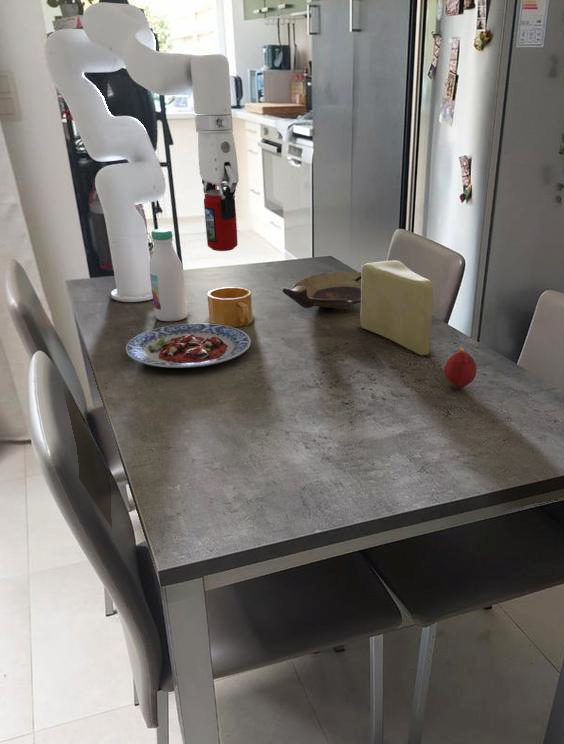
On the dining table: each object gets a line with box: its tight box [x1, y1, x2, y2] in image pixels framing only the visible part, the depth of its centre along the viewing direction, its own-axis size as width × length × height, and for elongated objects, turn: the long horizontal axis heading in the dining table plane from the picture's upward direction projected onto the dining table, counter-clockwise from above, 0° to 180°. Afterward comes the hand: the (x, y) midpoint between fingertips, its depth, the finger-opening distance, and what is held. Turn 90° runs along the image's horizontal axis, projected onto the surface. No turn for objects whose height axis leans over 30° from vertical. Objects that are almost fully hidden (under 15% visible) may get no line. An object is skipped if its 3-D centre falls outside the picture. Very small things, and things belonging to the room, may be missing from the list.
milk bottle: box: [150, 228, 189, 322], centre depth 162 cm, size 8×8×20 cm
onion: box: [444, 347, 478, 390], centre depth 129 cm, size 6×6×8 cm
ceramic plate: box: [125, 322, 252, 369], centre depth 146 cm, size 26×26×3 cm
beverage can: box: [203, 188, 239, 252], centre depth 153 cm, size 7×7×12 cm
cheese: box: [360, 259, 434, 356], centre depth 150 cm, size 22×10×15 cm, turn 24°
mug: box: [207, 286, 254, 328], centre depth 162 cm, size 14×10×6 cm
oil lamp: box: [281, 271, 362, 309], centre depth 174 cm, size 22×30×8 cm
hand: (220, 214), depth 152 cm, fingers closed on beverage can, 6 cm apart
